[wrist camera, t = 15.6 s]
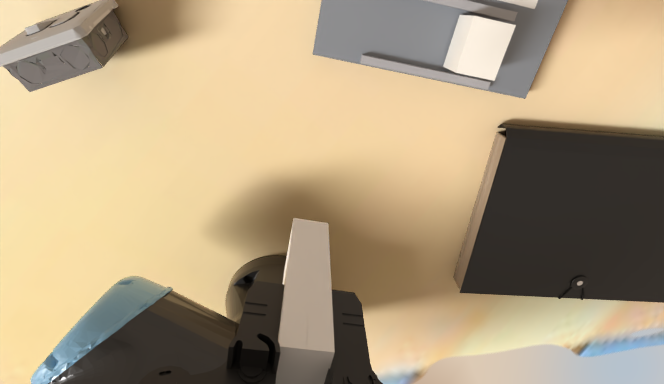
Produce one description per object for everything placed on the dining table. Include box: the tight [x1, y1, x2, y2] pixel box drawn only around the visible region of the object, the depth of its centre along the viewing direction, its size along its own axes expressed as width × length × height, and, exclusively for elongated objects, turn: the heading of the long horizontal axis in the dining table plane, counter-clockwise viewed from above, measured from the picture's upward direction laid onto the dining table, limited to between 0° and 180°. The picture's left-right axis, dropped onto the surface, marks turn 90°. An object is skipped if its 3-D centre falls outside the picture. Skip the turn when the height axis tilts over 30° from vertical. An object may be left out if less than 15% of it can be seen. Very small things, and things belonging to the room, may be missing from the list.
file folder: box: [454, 124, 664, 302], centre depth 49 cm, size 33×4×24 cm
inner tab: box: [443, 15, 516, 81], centre depth 36 cm, size 5×4×4 cm
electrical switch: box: [0, 0, 128, 92], centre depth 35 cm, size 9×5×9 cm, turn 106°
